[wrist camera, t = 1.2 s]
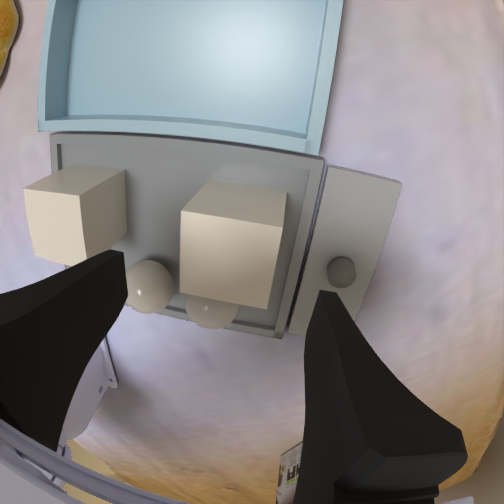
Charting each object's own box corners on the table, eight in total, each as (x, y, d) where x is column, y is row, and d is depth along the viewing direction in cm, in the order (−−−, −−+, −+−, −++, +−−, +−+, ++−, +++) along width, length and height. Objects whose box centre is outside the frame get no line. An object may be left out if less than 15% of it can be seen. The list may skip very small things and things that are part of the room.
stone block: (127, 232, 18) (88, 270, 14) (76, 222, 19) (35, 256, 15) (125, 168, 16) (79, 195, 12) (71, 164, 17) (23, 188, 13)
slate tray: (343, 339, 21) (345, 353, 20) (75, 282, 22) (66, 293, 21) (400, 175, 15) (408, 183, 14) (58, 131, 16) (44, 136, 15)
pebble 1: (181, 297, 20) (164, 330, 17) (136, 287, 20) (116, 317, 18) (181, 255, 19) (162, 286, 16) (133, 246, 19) (108, 273, 16)
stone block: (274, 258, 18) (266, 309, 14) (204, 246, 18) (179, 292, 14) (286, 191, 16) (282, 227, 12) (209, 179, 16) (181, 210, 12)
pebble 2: (241, 310, 20) (232, 345, 17) (193, 300, 20) (177, 333, 17) (247, 267, 18) (238, 301, 16) (194, 257, 19) (176, 289, 16)
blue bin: (314, 146, 15) (318, 155, 13) (64, 123, 16) (38, 131, 14) (340, -16, 11) (347, -33, 8) (77, -10, 11) (52, -16, 9)
